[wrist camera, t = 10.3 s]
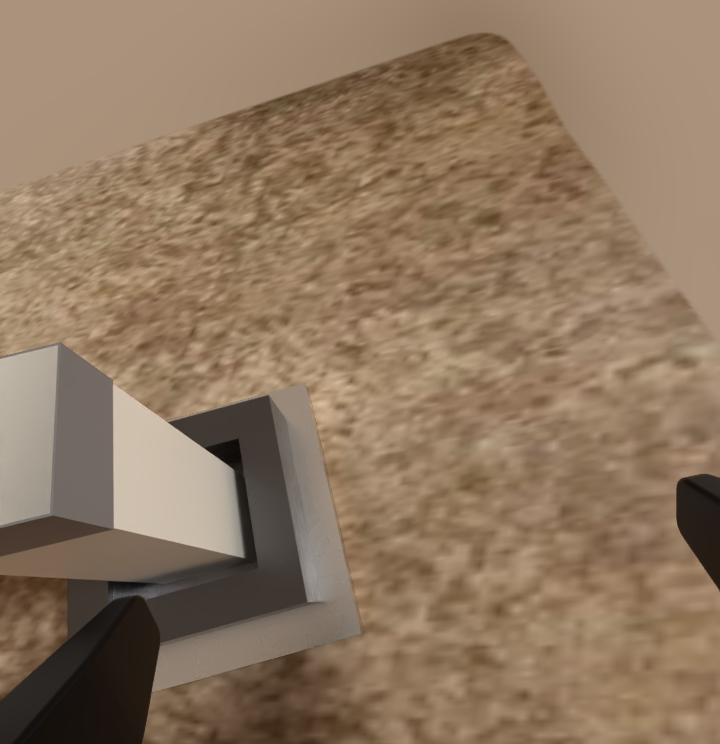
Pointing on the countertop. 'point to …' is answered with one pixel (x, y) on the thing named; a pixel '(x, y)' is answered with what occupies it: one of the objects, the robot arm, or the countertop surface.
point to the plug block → (107, 482)
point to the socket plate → (273, 550)
